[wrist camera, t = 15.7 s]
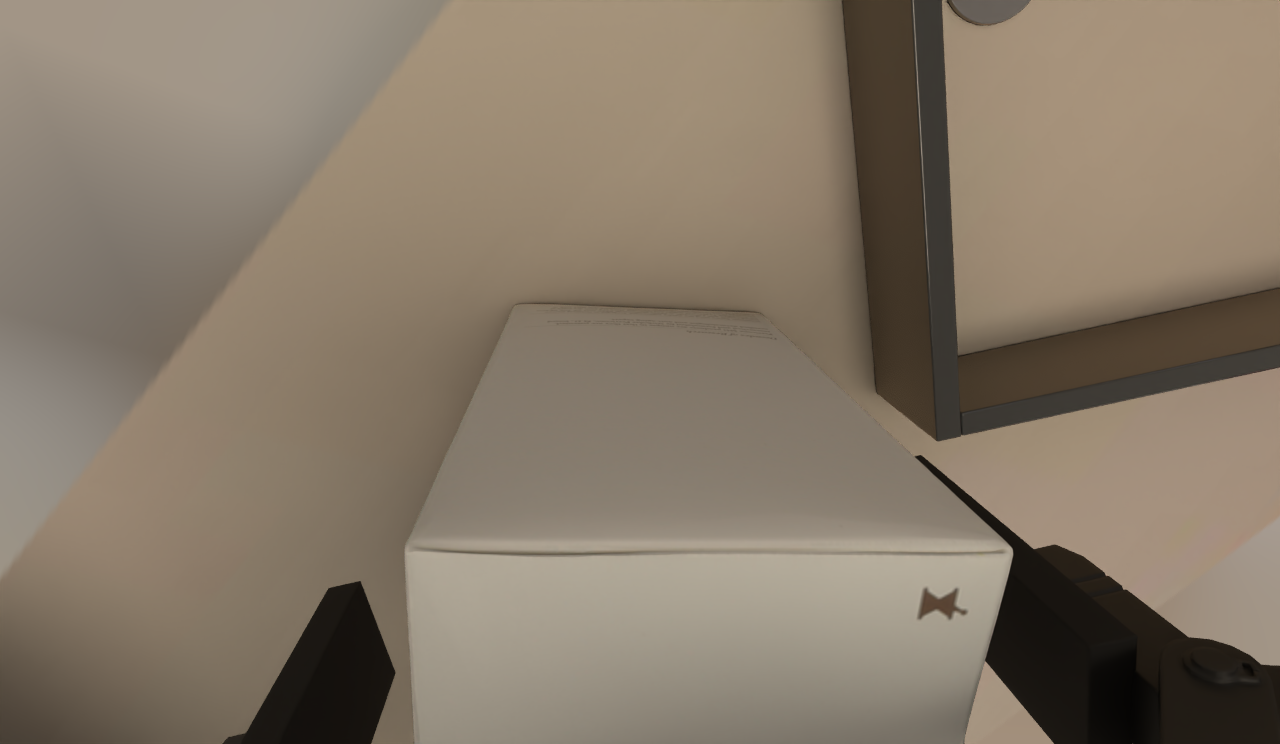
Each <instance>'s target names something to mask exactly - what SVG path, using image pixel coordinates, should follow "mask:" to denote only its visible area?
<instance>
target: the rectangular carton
mask: <svg viewBox="0 0 1280 744" xmlns="http://www.w3.org/2000/svg"><path fill="white" fill-rule="evenodd" d="M1012 558H1013V549H1012V548H1011V546H1010V545H1009V544H1008V543H1007V542H1006V541H1005V540H1004V539H1003V538H1002V537H1000V536H999V535H998V534H997V533H996V532H995V531H994V530H993V529H992V528H991V527H990V526H988V525H987V524H986V523H985V522H984V521H983V520H982V519H981V518H980V517H979V516H978V515H976V514H975V513H974V512H973V511H972V510H971V509H970V508H969V507H968V506H967V505H966V504H965V503H964V502H962V501H961V500H960V499H959V498H958V497H957V496H956V495H955V494H954V493H953V492H952V491H951V490H950V489H949V488H948V487H947V486H945V485H944V484H943V483H942V482H941V481H940V480H939V479H938V478H937V477H936V476H934V475H933V474H932V473H931V472H930V471H929V470H928V469H927V468H926V467H925V466H924V465H923V464H922V463H921V462H920V461H919V460H917V459H916V458H915V457H914V456H913V455H912V454H911V453H910V452H909V451H908V450H907V449H906V448H904V447H903V446H902V445H901V444H900V443H899V442H898V441H897V440H896V439H895V438H894V437H893V436H892V435H891V434H889V433H888V432H887V431H886V430H885V429H884V428H883V427H882V426H881V425H880V424H879V423H878V422H877V421H876V420H875V419H874V418H872V417H871V416H870V415H869V414H868V413H867V412H866V411H865V410H864V409H863V408H862V407H861V406H860V405H859V404H858V403H857V402H855V401H854V400H853V399H852V398H851V397H850V396H849V395H848V394H847V393H846V392H845V391H844V390H843V389H842V388H841V387H840V386H839V385H838V384H836V383H835V382H834V381H833V380H832V379H831V378H830V377H829V376H828V375H827V374H826V373H825V372H824V371H822V370H821V369H820V368H819V367H818V366H817V365H816V364H815V363H814V362H813V361H812V360H811V359H810V358H809V357H808V356H807V355H806V354H805V353H803V352H802V351H801V350H800V349H799V348H798V347H797V346H796V345H795V344H794V343H793V342H792V341H790V340H789V339H788V338H787V337H786V336H785V335H784V334H783V333H782V332H781V331H780V330H779V329H777V328H776V327H775V326H774V325H773V324H772V323H771V322H770V321H769V320H768V319H767V318H766V317H765V316H764V315H762V314H761V313H752V312H730V311H705V310H680V309H656V308H631V307H606V306H583V305H561V304H519V305H515V306H514V307H513V309H512V311H511V313H510V316H509V318H508V321H507V323H506V325H505V327H504V329H503V332H502V334H501V336H500V338H499V341H498V343H497V345H496V347H495V349H494V352H493V354H492V356H491V358H490V360H489V362H488V365H487V367H486V369H485V371H484V373H483V375H482V377H481V380H480V382H479V384H478V386H477V389H476V391H475V393H474V395H473V397H472V400H471V402H470V404H469V406H468V408H467V410H466V412H465V415H464V417H463V419H462V421H461V423H460V426H459V428H458V430H457V432H456V435H455V437H454V439H453V441H452V443H451V445H450V447H449V449H448V452H447V454H446V456H445V458H444V460H443V462H442V465H441V467H440V469H439V472H438V474H437V476H436V479H435V481H434V483H433V486H432V488H431V490H430V492H429V494H428V496H427V498H426V501H425V503H424V505H423V507H422V509H421V512H420V514H419V516H418V519H417V521H416V523H415V526H414V528H413V530H412V532H411V534H410V536H409V538H408V540H407V542H406V544H405V553H404V560H405V579H406V599H407V617H408V634H409V651H410V669H411V689H412V709H413V728H414V744H964V738H965V734H966V730H967V725H968V721H969V718H970V714H971V710H972V706H973V702H974V699H975V695H976V691H977V687H978V684H979V680H980V676H981V673H982V669H983V666H984V662H985V658H986V655H987V651H988V648H989V644H990V641H991V637H992V634H993V630H994V627H995V623H996V620H997V616H998V612H999V608H1000V605H1001V601H1002V597H1003V593H1004V590H1005V586H1006V582H1007V579H1008V575H1009V571H1010V567H1011V562H1012Z"/></svg>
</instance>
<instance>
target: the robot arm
mask: <svg viewBox="0 0 1280 744" xmlns="http://www.w3.org/2000/svg"><path fill="white" fill-rule="evenodd" d="M915 458H916V459H917V460H919V461H920V462H921V463H922V464H923V465H924V466H925V467H926V468H927V469H928V470H929V471H930V472H931V473H932V474H933V475H934V476H936V477H937V478H938V479H939V480H940V481H941V482H942V483H943V484H944V485H945V486H947V487H948V488H949V489H950V490H951V491H952V492H953V493H954V494H955V495H956V496H957V497H958V498H959V499H960V500H961V501H962V502H964V503H965V504H966V505H967V506H968V507H969V508H970V509H971V510H972V511H973V512H974V513H975V514H976V515H978V516H979V517H980V518H981V519H982V520H983V521H984V522H985V523H986V524H987V525H988V526H990V527H991V528H992V529H993V530H994V531H995V532H996V533H997V534H998V535H999V536H1000V537H1002V538H1003V539H1004V540H1005V541H1006V542H1007V543H1008V544H1009V545H1010V546H1011V548H1012V549H1013V558H1012V562H1011V567H1010V571H1009V575H1008V579H1007V582H1006V586H1005V590H1004V593H1003V597H1002V601H1001V605H1000V608H999V612H998V616H997V620H996V623H995V627H994V630H993V634H992V637H991V641H990V644H989V648H988V651H987V655H986V658H985V661H986V662H987V663H988V665H989V666H990V667H991V668H992V669H993V671H994V672H995V673H996V674H997V675H998V677H999V678H1000V679H1001V680H1002V681H1003V683H1004V684H1005V685H1006V686H1007V687H1008V689H1009V690H1010V691H1011V692H1012V693H1013V695H1014V696H1015V697H1016V698H1017V699H1018V701H1019V702H1020V703H1021V704H1022V705H1023V707H1024V708H1025V709H1026V710H1027V711H1028V713H1029V714H1030V715H1031V716H1032V717H1033V719H1034V720H1035V721H1036V722H1037V723H1038V725H1039V726H1040V727H1041V728H1042V729H1043V731H1044V732H1045V733H1046V734H1047V736H1048V737H1049V738H1050V739H1051V740H1052V742H1053V743H1054V744H1132V743H1133V744H1280V666H1270V665H1261V664H1260V663H1259V662H1257V661H1256V660H1255V659H1254V658H1253V657H1251V656H1250V655H1248V654H1246V653H1244V652H1242V651H1240V650H1239V649H1237V648H1235V647H1233V646H1230V645H1227V644H1224V643H1220V642H1217V641H1214V640H1210V639H1200V638H1189V637H1187V636H1186V635H1185V634H1184V633H1182V632H1181V631H1180V630H1178V629H1177V628H1176V627H1174V626H1173V625H1172V624H1171V623H1169V622H1168V621H1167V620H1165V619H1164V618H1163V617H1161V616H1160V615H1159V614H1158V613H1156V612H1155V611H1154V610H1152V609H1151V608H1150V607H1148V606H1147V605H1146V604H1145V603H1143V602H1142V601H1141V600H1139V599H1138V598H1137V597H1135V596H1134V595H1133V594H1132V593H1130V592H1129V591H1128V590H1123V588H1122V586H1121V585H1120V584H1119V583H1117V582H1116V581H1115V580H1113V579H1112V578H1111V577H1109V576H1106V575H1105V573H1104V572H1103V571H1102V570H1100V569H1099V568H1098V567H1096V566H1095V565H1094V564H1093V563H1091V562H1090V561H1089V560H1087V559H1086V558H1085V557H1083V556H1081V555H1079V554H1077V553H1074V552H1072V551H1069V550H1067V549H1065V548H1062V547H1060V546H1058V545H1051V546H1046V547H1042V548H1038V549H1033V548H1032V547H1030V546H1029V545H1028V544H1027V543H1026V542H1024V541H1023V540H1022V539H1021V538H1020V537H1018V536H1017V535H1016V534H1015V533H1014V532H1012V531H1011V530H1010V529H1009V528H1008V527H1006V526H1005V525H1004V524H1003V523H1002V522H1000V521H999V520H998V519H997V518H996V517H995V516H993V515H992V514H991V513H990V512H989V511H987V510H986V509H985V508H984V507H983V506H981V505H980V504H979V503H978V502H977V501H975V500H974V499H973V498H972V497H971V496H969V495H968V494H967V493H966V492H965V491H963V490H962V489H961V488H960V487H959V486H957V485H956V484H955V483H954V482H953V481H951V480H950V479H949V478H948V477H947V476H945V475H944V474H943V473H942V472H941V471H939V470H938V469H937V468H936V467H935V466H934V465H932V464H931V463H930V462H929V461H928V460H926V459H925V458H924V457H923V456H922V455H919V456H915ZM394 676H395V670H394V667H393V665H392V662H391V660H390V657H389V654H388V652H387V649H386V647H385V644H384V641H383V639H382V636H381V634H380V631H379V628H378V626H377V623H376V620H375V618H374V615H373V613H372V610H371V607H370V605H369V602H368V600H367V597H366V594H365V592H364V589H363V587H362V584H361V581H358V582H354V583H349V584H345V585H340V586H336V587H332V588H328V590H327V592H326V593H325V595H324V597H323V599H322V600H321V602H320V604H319V606H318V608H317V609H316V611H315V613H314V615H313V616H312V618H311V620H310V622H309V623H308V625H307V627H306V629H305V630H304V632H303V634H302V636H301V637H300V639H299V641H298V643H297V644H296V646H295V648H294V650H293V652H292V653H291V655H290V657H289V659H288V660H287V662H286V664H285V666H284V667H283V669H282V671H281V673H280V674H279V676H278V678H277V680H276V681H275V683H274V685H273V687H272V688H271V690H270V692H269V694H268V696H267V697H266V699H265V701H264V703H263V704H262V706H261V708H260V710H259V711H258V713H257V715H256V717H255V718H254V720H253V722H252V724H251V725H250V727H249V729H248V731H247V732H246V733H245V734H240V735H236V736H232V737H228V738H227V739H226V740H225V741H224V742H223V743H222V744H371V743H372V740H373V737H374V734H375V731H376V728H377V725H378V722H379V719H380V716H381V714H382V711H383V708H384V705H385V702H386V699H387V696H388V693H389V690H390V687H391V684H392V682H393V679H394Z"/></svg>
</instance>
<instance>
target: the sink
mask: <svg viewBox="0 0 1280 744" xmlns="http://www.w3.org/2000/svg"><path fill="white" fill-rule="evenodd" d="M948 2H949V4H950V5H951V7H952V8H953V10H954V11H955V12H956V13H957V14H958V15H959V16H960V17H962V18H963V19H965V20H967V21H969V22H971V23H974V24H979V25H991V24H996V23H1000V22H1003V21H1005V20H1008V19H1010V18H1011V17H1013V16H1015V15H1016V14H1017V13H1019V12H1020V11H1021V10H1022V9H1023V8H1024V7H1025V6H1026V5H1027V4H1028V3H1029V2H1030V0H948ZM843 10H844V21H845V33H846V44H847V56H848V68H849V79H850V91H851V102H852V114H853V125H854V137H855V148H856V160H857V171H858V183H859V194H860V206H861V217H862V229H863V240H864V252H865V263H866V275H867V286H868V298H869V309H870V321H871V332H872V344H873V355H874V367H875V378H876V390H877V394H878V395H880V396H881V397H882V398H883V399H885V400H886V401H887V402H888V403H890V404H891V405H892V406H893V407H895V408H896V409H897V410H898V411H900V412H901V413H902V414H903V415H905V416H906V417H907V418H908V419H910V420H911V421H912V422H913V423H915V424H916V425H917V426H918V427H920V428H921V429H922V430H923V431H925V432H926V433H927V434H928V435H930V436H931V437H932V438H933V439H935V440H936V441H942V440H947V439H952V438H956V437H960V436H961V435H968V434H973V433H978V432H982V431H987V430H991V429H996V428H1001V427H1005V426H1010V425H1015V424H1019V423H1024V422H1029V421H1033V420H1038V419H1043V418H1047V417H1052V416H1057V415H1061V414H1066V413H1070V412H1075V411H1080V410H1084V409H1089V408H1094V407H1098V406H1103V405H1108V404H1112V403H1117V402H1122V401H1126V400H1131V399H1135V398H1140V397H1145V396H1149V395H1154V394H1159V393H1163V392H1168V391H1173V390H1177V389H1182V388H1187V387H1191V386H1196V385H1200V384H1205V383H1210V382H1214V381H1219V380H1224V379H1228V378H1233V377H1238V376H1242V375H1247V374H1252V373H1256V372H1261V371H1266V370H1270V369H1275V368H1279V367H1280V288H1279V289H1274V290H1269V291H1264V292H1260V293H1255V294H1250V295H1246V296H1241V297H1236V298H1232V299H1227V300H1222V301H1218V302H1213V303H1208V304H1203V305H1199V306H1194V307H1189V308H1185V309H1180V310H1175V311H1171V312H1166V313H1161V314H1156V315H1152V316H1147V317H1142V318H1138V319H1133V320H1128V321H1124V322H1119V323H1114V324H1110V325H1105V326H1100V327H1095V328H1091V329H1086V330H1081V331H1077V332H1072V333H1067V334H1063V335H1058V336H1053V337H1048V338H1044V339H1039V340H1034V341H1030V342H1025V343H1020V344H1016V345H1011V346H1006V347H1002V348H997V349H992V350H987V351H983V352H978V353H973V354H969V355H964V356H959V357H958V353H957V330H956V308H955V286H954V264H953V241H952V219H951V197H950V174H949V152H948V130H947V108H946V85H945V63H944V41H943V19H942V0H843Z"/></svg>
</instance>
